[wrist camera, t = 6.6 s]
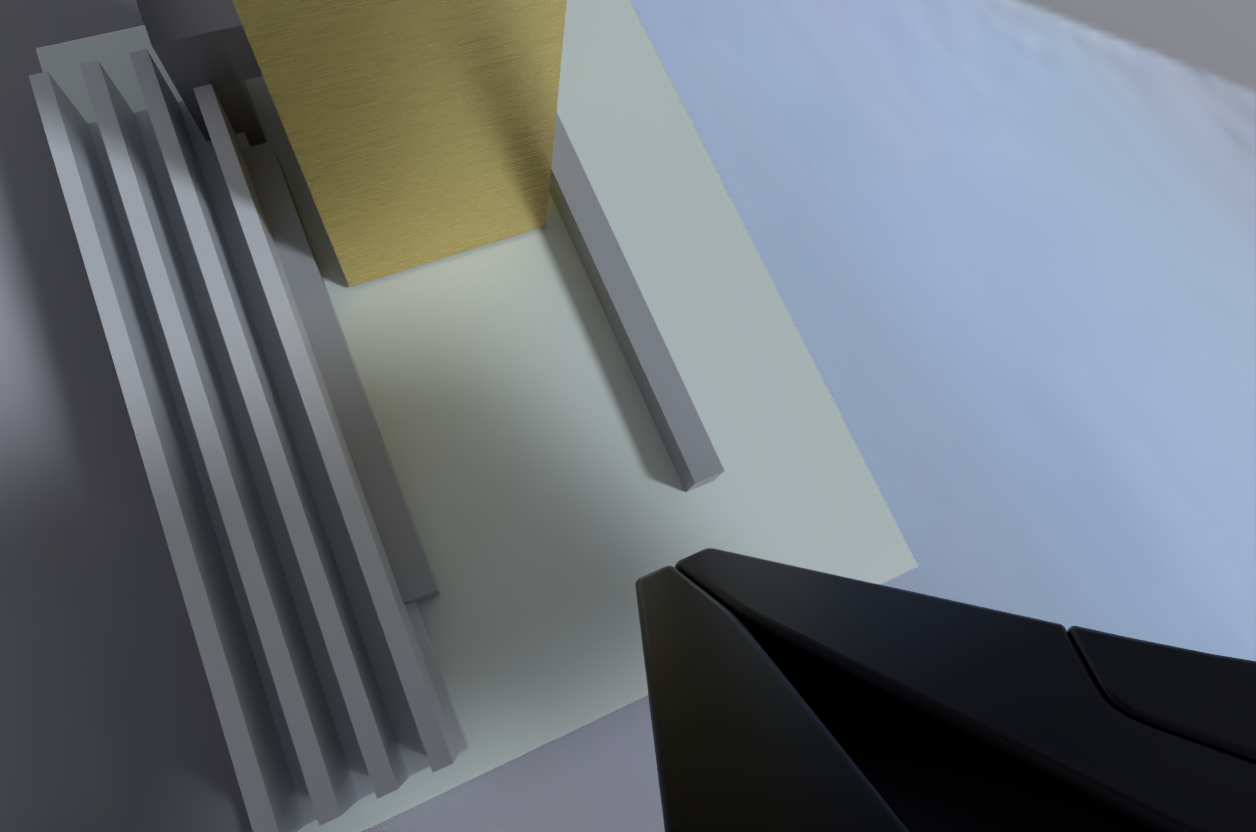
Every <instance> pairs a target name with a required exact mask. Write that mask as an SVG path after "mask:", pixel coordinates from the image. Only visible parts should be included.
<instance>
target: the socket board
mask: <svg viewBox="0 0 1256 832" xmlns="http://www.w3.org/2000/svg"><path fill="white" fill-rule="evenodd" d="M136 1H137V4H138V7H139V10H140V13H141V16H142V19H143V22H144V25H141V26H137V27H132V28H127V29H123V30H118V31H113V32H109V33H104V34H99V35H95V36H90V37H85V38H81V39H76V40H72V41H67V42H62V43H58V44H53V45H48V46H44V47H39V48H35V49H36V52H37V55H38V59H39V62H40V65H41V69H42V72H41V73H37V74H32V75H28V76H29V79H30V83H31V86H32V89H33V93H34V96H35V100H36V103H37V106H38V110H39V113H40V116H41V120H42V123H43V126H44V130H45V133H46V137H47V140H48V143H49V147H50V150H51V153H52V157H53V160H54V164H55V167H56V170H57V174H58V177H59V180H60V184H61V187H62V190H63V194H64V197H65V201H66V204H67V207H68V211H69V214H70V217H71V221H72V224H73V228H74V231H75V234H76V238H77V241H78V244H79V248H80V251H81V254H82V258H83V261H84V265H85V268H86V271H87V275H88V278H89V281H90V285H91V288H92V292H93V295H94V298H95V302H96V305H97V308H98V312H99V315H100V318H101V322H102V325H103V329H104V332H105V335H106V339H107V342H108V345H109V349H110V352H111V356H112V359H113V362H114V366H115V369H116V372H117V376H118V379H119V382H120V386H121V389H122V393H123V396H124V399H125V403H126V406H127V409H128V413H129V416H130V420H131V423H132V426H133V430H134V433H135V436H136V440H137V443H138V446H139V450H140V453H141V457H142V460H143V463H144V467H145V470H146V473H147V477H148V480H149V484H150V487H151V490H152V494H153V497H154V500H155V504H156V507H157V510H158V514H159V517H160V521H161V524H162V527H163V531H164V534H165V537H166V541H167V544H168V548H169V551H170V554H171V558H172V561H173V564H174V568H175V571H176V574H177V578H178V581H179V585H180V588H181V591H182V595H183V598H184V601H185V605H186V608H187V612H188V615H189V618H190V622H191V625H192V628H193V632H194V635H195V638H196V642H197V645H198V649H199V652H200V655H201V659H202V662H203V665H204V669H205V672H206V676H207V679H208V682H209V686H210V689H211V692H212V696H213V699H214V702H215V706H216V709H217V713H218V716H219V719H220V723H221V726H222V729H223V733H224V736H225V740H226V743H227V746H228V750H229V753H230V756H231V760H232V763H233V766H234V770H235V773H236V777H237V780H238V783H239V787H240V790H241V793H242V797H243V800H244V804H245V807H246V810H247V814H248V817H249V820H250V824H251V827H252V830H253V832H363V831H365V830H367V829H369V828H371V827H373V826H375V825H377V824H379V823H381V822H384V821H386V820H388V819H390V818H392V817H394V816H396V815H398V814H400V813H402V812H404V811H407V810H409V809H411V808H413V807H415V806H417V805H419V804H421V803H423V802H425V801H428V800H430V799H432V798H434V797H436V796H438V795H440V794H442V793H444V792H446V791H448V790H451V789H453V788H455V787H457V786H459V785H461V784H463V783H465V782H467V781H469V780H472V779H474V778H476V777H478V776H480V775H482V774H484V773H486V772H488V771H490V770H492V769H495V768H497V767H499V766H501V765H503V764H505V763H507V762H509V761H511V760H513V759H516V758H518V757H520V756H522V755H524V754H526V753H528V752H530V751H532V750H534V749H536V748H539V747H541V746H543V745H545V744H547V743H549V742H551V741H553V740H555V739H557V738H560V737H562V736H564V735H566V734H568V733H570V732H572V731H574V730H576V729H578V728H580V727H583V726H585V725H587V724H589V723H591V722H593V721H595V720H597V719H599V718H601V717H604V716H606V715H608V714H610V713H612V712H614V711H616V710H618V709H620V708H622V707H624V706H627V705H629V704H631V703H633V702H635V701H637V700H639V699H641V698H643V697H645V696H648V687H647V679H646V671H645V663H644V654H643V646H642V638H641V630H640V621H639V613H638V605H637V597H636V588H635V583H636V581H637V580H638V579H639V578H640V577H642V576H645V575H647V574H649V573H651V572H654V571H656V570H658V569H661V568H663V567H665V566H673V567H675V565H676V563H677V562H678V561H679V560H681V559H683V558H686V557H688V556H690V555H692V554H695V553H697V552H699V551H701V550H704V549H707V548H715V549H719V550H724V551H729V552H733V553H738V554H742V555H747V556H751V557H756V558H760V559H765V560H770V561H774V562H779V563H783V564H788V565H792V566H797V567H802V568H806V569H811V570H815V571H820V572H824V573H829V574H833V575H838V576H843V577H847V578H852V579H856V580H861V581H865V582H870V583H875V584H879V585H880V584H882V583H884V582H886V581H888V580H891V579H893V578H895V577H897V576H899V575H901V574H903V573H905V572H907V571H909V570H912V569H914V568H916V567H918V565H917V563H916V561H915V559H914V557H913V555H912V553H911V551H910V549H909V547H908V545H907V543H906V541H905V539H904V537H903V535H902V533H901V531H900V529H899V527H898V525H897V523H896V521H895V519H894V517H893V516H892V514H891V512H890V510H889V508H888V506H887V504H886V502H885V500H884V498H883V496H882V494H881V492H880V490H879V488H878V486H877V484H876V482H875V480H874V478H873V476H872V474H871V472H870V470H869V469H868V467H867V465H866V463H865V461H864V459H863V457H862V455H861V453H860V451H859V449H858V447H857V445H856V443H855V441H854V439H853V437H852V435H851V433H850V431H849V429H848V427H847V425H846V423H845V421H844V420H843V418H842V416H841V414H840V412H839V410H838V408H837V406H836V404H835V402H834V400H833V398H832V396H831V394H830V392H829V390H828V388H827V386H826V384H825V382H824V380H823V378H822V376H821V374H820V372H819V371H818V369H817V367H816V365H815V363H814V361H813V359H812V357H811V355H810V353H809V351H808V349H807V347H806V345H805V343H804V341H803V339H802V337H801V335H800V333H799V331H798V329H797V327H796V325H795V323H794V322H793V320H792V318H791V316H790V314H789V312H788V310H787V308H786V306H785V304H784V302H783V300H782V298H781V296H780V294H779V292H778V290H777V288H776V286H775V284H774V282H773V280H772V278H771V276H770V274H769V273H768V271H767V269H766V267H765V265H764V263H763V261H762V259H761V257H760V255H759V253H758V251H757V249H756V247H755V245H754V243H753V241H752V239H751V237H750V235H749V233H748V231H747V229H746V227H745V226H744V224H743V222H742V220H741V218H740V216H739V214H738V212H737V210H736V208H735V206H734V204H733V202H732V200H731V198H730V196H729V194H728V192H727V190H726V188H725V186H724V184H723V182H722V180H721V178H720V177H719V175H718V173H717V171H716V169H715V167H714V165H713V163H712V161H711V159H710V157H709V155H708V153H707V151H706V149H705V147H704V145H703V143H702V141H701V139H700V137H699V135H698V133H697V131H696V129H695V128H694V126H693V124H692V122H691V120H690V118H689V116H688V114H687V112H686V110H685V108H684V106H683V104H682V102H681V100H680V98H679V96H678V94H677V92H676V90H675V88H674V86H673V84H672V82H671V80H670V79H669V77H668V75H667V73H666V71H665V69H664V67H663V65H662V63H661V61H660V59H659V57H658V55H657V53H656V51H655V49H654V47H653V45H652V43H651V41H650V39H649V37H648V35H647V33H646V32H645V30H644V28H643V26H642V24H641V22H640V20H639V18H638V16H637V14H636V12H635V10H634V8H633V6H632V4H631V2H630V0H567V4H566V15H565V26H564V36H563V47H562V58H561V69H560V79H559V90H558V101H557V112H556V123H555V133H554V144H553V155H552V166H551V177H550V187H549V198H548V209H547V220H546V227H543V228H540V229H536V230H533V231H530V232H527V233H523V234H520V235H517V236H514V237H511V238H507V239H504V240H501V241H498V242H494V243H491V244H488V245H485V246H481V247H478V248H475V249H472V250H468V251H465V252H462V253H459V254H456V255H452V256H449V257H446V258H443V259H439V260H436V261H433V262H430V263H426V264H423V265H420V266H417V267H413V268H410V269H407V270H404V271H401V272H397V273H394V274H391V275H388V276H384V277H381V278H378V279H375V280H371V281H368V282H365V283H362V284H358V285H355V286H352V287H349V285H348V282H347V280H346V278H345V275H344V273H343V270H342V268H341V265H340V263H339V260H338V258H337V256H336V253H335V251H334V248H333V246H332V243H331V241H330V238H329V236H328V234H327V231H326V229H325V226H324V224H323V221H322V219H321V217H320V214H319V212H318V209H317V207H316V204H315V202H314V199H313V197H312V195H311V192H310V190H309V187H308V185H307V182H306V180H305V177H304V175H303V173H302V170H301V168H300V165H299V163H298V160H297V158H296V156H295V153H294V151H293V148H292V146H291V143H290V141H289V138H288V136H287V134H286V131H285V129H284V126H283V124H282V121H281V119H280V116H279V114H278V112H277V109H276V107H275V104H274V102H273V99H272V97H271V95H270V92H269V90H268V87H267V85H266V82H265V80H264V77H263V75H262V73H261V70H260V68H259V65H258V63H257V60H256V58H255V55H254V53H253V51H252V48H251V46H250V43H249V41H248V38H247V36H246V33H245V31H244V29H243V26H242V24H241V21H240V19H239V16H238V14H237V12H236V9H235V7H234V4H233V2H232V0H136Z"/></svg>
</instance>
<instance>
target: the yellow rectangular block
mask: <svg viewBox="0 0 1256 832" xmlns="http://www.w3.org/2000/svg"><path fill="white" fill-rule="evenodd" d="M232 2H233V4H234V7H235V9H236V12H237V14H238V16H239V19H240V21H241V24H242V26H243V29H244V31H245V33H246V36H247V38H248V41H249V43H250V46H251V48H252V51H253V53H254V55H255V58H256V60H257V63H258V65H259V68H260V70H261V73H262V75H263V77H264V80H265V82H266V85H267V87H268V90H269V92H270V95H271V97H272V99H273V102H274V104H275V107H276V109H277V112H278V114H279V116H280V119H281V121H282V124H283V126H284V129H285V131H286V134H287V136H288V138H289V141H290V143H291V146H292V148H293V151H294V153H295V156H296V158H297V160H298V163H299V165H300V168H301V170H302V173H303V175H304V177H305V180H306V182H307V185H308V187H309V190H310V192H311V195H312V197H313V199H314V202H315V204H316V207H317V209H318V212H319V214H320V217H321V219H322V221H323V224H324V226H325V229H326V231H327V234H328V236H329V238H330V241H331V243H332V246H333V248H334V251H335V253H336V256H337V258H338V260H339V263H340V265H341V268H342V270H343V273H344V275H345V278H346V280H347V282H348V285H349V287H352V286H355V285H358V284H362V283H365V282H368V281H371V280H375V279H378V278H381V277H384V276H388V275H391V274H394V273H397V272H401V271H404V270H407V269H410V268H413V267H417V266H420V265H423V264H426V263H430V262H433V261H436V260H439V259H443V258H446V257H449V256H452V255H456V254H459V253H462V252H465V251H468V250H472V249H475V248H478V247H481V246H485V245H488V244H491V243H494V242H498V241H501V240H504V239H507V238H511V237H514V236H517V235H520V234H523V233H527V232H530V231H533V230H536V229H540V228H543V227H546V220H547V209H548V198H549V187H550V177H551V166H552V155H553V144H554V133H555V123H556V112H557V101H558V90H559V79H560V69H561V58H562V47H563V36H564V26H565V15H566V4H567V0H232Z"/></svg>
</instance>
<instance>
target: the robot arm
mask: <svg viewBox="0 0 1256 832" xmlns="http://www.w3.org/2000/svg"><path fill="white" fill-rule="evenodd" d="M635 588H636V597H637V605H638V613H639V621H640V630H641V638H642V646H643V654H644V663H645V671H646V679H647V687H648V696H649V704H650V712H651V720H652V729H653V737H654V745H655V753H656V762H657V770H658V778H659V786H660V795H661V803H662V811H663V819H664V828H665V832H1256V661H1250V660H1244V659H1238V658H1232V657H1226V656H1220V655H1214V654H1209V653H1204V652H1199V651H1194V650H1189V649H1184V648H1179V647H1174V646H1169V645H1164V644H1159V643H1154V642H1149V641H1144V640H1139V639H1134V638H1129V637H1124V636H1119V635H1115V634H1110V633H1105V632H1101V631H1096V630H1092V629H1087V628H1083V627H1078V626H1072V627H1070V628H1069V629H1068V632H1067V630H1066V629H1065V627H1064V626H1063V625H1061V624H1057V623H1053V622H1048V621H1043V620H1039V619H1034V618H1030V617H1025V616H1021V615H1016V614H1011V613H1007V612H1002V611H998V610H993V609H989V608H984V607H980V606H975V605H970V604H966V603H961V602H957V601H952V600H948V599H943V598H938V597H934V596H929V595H925V594H920V593H916V592H911V591H906V590H902V589H897V588H893V587H888V586H884V585H879V584H875V583H870V582H865V581H861V580H856V579H852V578H847V577H843V576H838V575H833V574H829V573H824V572H820V571H815V570H811V569H806V568H802V567H797V566H792V565H788V564H783V563H779V562H774V561H770V560H765V559H760V558H756V557H751V556H747V555H742V554H738V553H733V552H729V551H724V550H719V549H715V548H707V549H704V550H701V551H699V552H697V553H695V554H692V555H690V556H688V557H686V558H683V559H681V560H679V561H678V562H677V563H676V565H675V567H673V566H665V567H663V568H661V569H658V570H656V571H654V572H651V573H649V574H647V575H645V576H642V577H640V578H639V579H638V580H637V581H636V583H635Z"/></svg>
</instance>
